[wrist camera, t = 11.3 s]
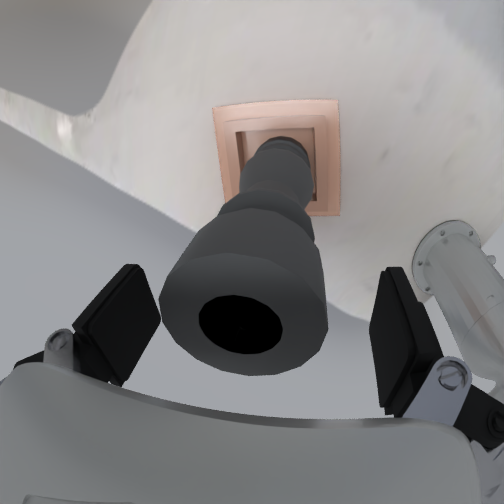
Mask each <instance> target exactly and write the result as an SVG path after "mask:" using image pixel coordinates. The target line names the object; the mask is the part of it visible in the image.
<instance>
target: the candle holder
mask: <svg viewBox="0 0 504 504" xmlns="http://www.w3.org/2000/svg"><path fill="white" fill-rule="evenodd" d="M310 169H311V167H310V162H309V158H308V154H307V151H306V150H305V148H304V147H303V146H302V144H301V143H300V142H298V141H296V140H295V139H293V138H291V137H286V136H277V137H273V138H269V139H268V140H267V141H265V142H264V143H263V144H261V145H260V147H259V148H258V149H257V151H256V152H255V154H254V156H253V157H252V158H251V159H249V160H248V161H247V163H246V164H245V166H244V168H243V170H242V172H241V174H240V182H239V192H240V193H238V194H237V195H236V196H234V197H233V198H232V199H230V200H229V201H228V202H227V203H225V204H224V205H223V206H222V208H221V210H220V212H219V214H218V216H217V217H216V218H214V219H213V220H212V221H211V222H209V223H208V224H207V225H205V226H204V227H203V228H202V229H200V230H199V231H198V233H197V234H196V235H195V237H194V238H193V240H192V241H191V243H190V244H189V245H188V247H187V248H186V250H185V251H184V253H183V254H182V255H181V257H180V258H179V260H178V261H177V263H176V264H175V266H174V267H173V269H172V270H171V272H170V273H169V275H168V276H167V278H166V281H165V283H164V286H163V289H162V291H161V294H160V296H159V304H160V311H161V316H162V322H163V323H164V325H165V327H166V328H167V330H168V331H169V333H170V334H171V336H172V337H173V339H174V340H175V342H176V343H177V344H178V345H180V346H181V347H182V348H183V349H185V350H186V351H187V352H188V353H190V354H191V355H192V356H193V357H194V358H196V359H197V360H200V361H201V362H204V363H206V364H208V365H210V366H213V367H215V368H217V369H219V370H222V371H226V372H231V373H236V374H241V375H248V376H258V375H275V374H279V373H282V372H285V371H288V370H291V369H294V368H297V367H300V366H302V365H303V364H304V363H305V362H306V361H308V360H309V359H310V358H311V357H313V356H314V355H315V354H316V353H317V352H318V351H319V350H320V348H321V346H322V343H323V341H324V338H325V336H326V334H327V332H328V318H327V306H326V295H325V284H324V275H323V269H322V263H321V258H320V253H319V249H318V248H317V247H316V245H315V244H314V239H315V238H314V232H313V228H312V223H311V219H310V217H309V215H308V214H307V213H306V211H305V210H304V209H305V208H306V206H307V205H308V203H309V202H310V200H311V199H312V193H313V188H314V183H313V179H312V174H311V170H310Z"/></svg>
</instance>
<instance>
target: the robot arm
mask: <svg viewBox="0 0 504 504" xmlns="http://www.w3.org/2000/svg"><path fill="white" fill-rule="evenodd" d="M495 262H496V258H495V256H486V255H485V253H484V252H483V251H482V250H481V245H480V239H479V237H478V234H477V233H476V231H475V230H474V229H473V228H472V227H471V226H470V225H468V224H467V223H465V222H461V221H450V222H446V223H443V224H441V225H439V226H438V227H436V228H434V229H433V230H432V231H431V232H430V233H428V234H427V236H426V237H425V238H424V239H423V240H422V242H421V243H420V245H419V247H418V248H417V251H416V253H415V256H414V259H413V266H412V270H413V276H414V279H415V281H416V283H417V285H418V287H419V288H420V289H421V290H422V291H423V292H425V293H427V294H430V295H434V296H435V298H436V300H437V302H438V304H439V306H440V308H441V310H442V312H443V314H444V316H445V318H446V320H447V322H448V325H449V327H450V329H451V331H452V334H453V335H454V338H455V340H456V343H457V345H458V347H459V350H460V352H461V354H462V357H463V359H464V361H462V360H461V359H459V358H456V357H450V356H447V357H444V356H443V353H442V350H441V347H440V345H439V342H438V339H437V337H436V334H435V331H434V329H433V326H432V324H431V321H430V319H429V316H428V314H427V312H426V309H425V307H424V305H423V303H421V302H418V301H417V298H416V296H415V294H414V292H413V289H412V287H411V285H410V283H409V280H408V278H407V276H406V274H405V272H404V270H403V268H402V267H387V268H386V270H385V271H382V272H381V274H380V279H379V285H378V290H377V295H376V299H375V304H374V309H373V313H372V317H371V321H370V326H369V334H370V340H371V346H372V352H373V358H374V365H375V372H376V379H377V387H378V396H379V403H380V407H384V409H385V415H392V414H394V418H365V419H294V418H278V417H266V416H255V415H246V414H239V413H231V412H224V411H218V410H212V409H206V408H201V407H195V406H190V405H186V404H180V403H176V402H172V401H168V400H164V399H160V398H156V397H152V396H148V395H145V394H141V393H137V392H134V391H131V390H127V389H124V388H121V387H122V385H123V383H124V382H125V381H127V380H128V379H129V377H130V375H131V373H132V371H133V369H134V368H135V366H136V364H137V362H138V361H139V359H140V357H141V355H142V353H143V352H144V350H145V348H146V346H147V345H148V343H149V341H150V340H151V338H152V336H153V334H154V333H155V331H156V329H157V328H158V326H159V324H160V321H161V316H160V313H159V311H158V308H157V306H156V303H155V300H154V298H153V295H152V292H151V290H150V287H149V284H148V281H147V278H146V275H145V273H144V270H143V269H142V268H141V267H140V266H139V265H138V264H126V265H124V266H123V267H122V268H121V269H120V271H119V272H118V273H117V274H116V275H115V276H114V277H113V278H112V279H111V280H110V281H109V282H108V284H107V285H106V286H105V287H104V288H103V289H102V290H101V291H100V292H99V294H98V295H97V296H96V297H95V298H94V300H92V302H91V303H90V304H89V305H88V306H87V307H86V309H85V310H84V311H83V312H82V313H81V315H80V316H79V317H78V318H77V319H76V320H75V322H74V323H73V324H72V327H73V328H74V330H75V333H74V334H73V333H72V332H71V331H70V330H69V329H59V330H57V331H55V332H54V333H52V334H51V335H50V336H49V337H48V339H47V341H46V343H45V350H44V351H42V352H39V353H37V354H34V355H32V356H30V357H27V358H25V359H23V360H20V361H18V362H17V363H16V364H15V366H14V369H13V371H12V372H11V373H10V374H9V375H8V376H7V377H6V378H4V379H3V380H2V381H0V504H504V279H503V278H502V277H501V275H500V274H499V273H498V271H497V270H496V269H495V268H494V267H493V264H495ZM471 372H472V373H473V374H475V375H477V376H479V377H482V378H485V379H489V380H494V381H495V382H496V386H495V388H494V389H493V390H492V391H491V392H489V393H488V394H487V393H485V392H483V391H482V390H480V389H479V388H477V387H475V386H474V385H472V384H471V382H472V374H471ZM108 381H110V383H111V384H109V383H108ZM112 384H113V385H112ZM115 385H116V386H115ZM118 386H119V387H118Z"/></svg>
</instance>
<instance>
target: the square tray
mask: <svg viewBox="0 0 504 504" xmlns="http://www.w3.org/2000/svg"><path fill="white" fill-rule="evenodd" d="M212 110H213V118H214V126H215V133H216V141H217V148H218V155H219V162H220V170H221V177H222V184H223V191H224V197H225V203H227V202H228V201H229V200H230V199H232V198H233V197H234V196H236V195H237V194H238V193H240V192H239V182H240V174H241V172H242V170H243V168H244V166H245V164H246V163H247V161H248V160H249V159H251V158H252V157H253V156H254V154H255V152H256V151H257V149H258V148H259V147H260V145H261V144H263V143H264V142H265V141H267V140H268V139H269V138H273V137H277V136H286V137H291V138H293V139H295V140H296V141H298V142H300V143H301V144H302V146H303V147H304V148H305V150H306V151H307V154H308V158H309V162H310V167H311V169H310V170H311V174H312V179H313V183H314V188H313V193H312V199H311V200H310V202H309V203H308V205H307V206H306V208H305V209H304V210H305V211H306V213H307V214H308V215H309V216H340V132H339V111H338V100H329V99H312V100H282V101H267V102H255V103H245V104H236V105H228V106H221V107H214V108H212Z"/></svg>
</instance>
